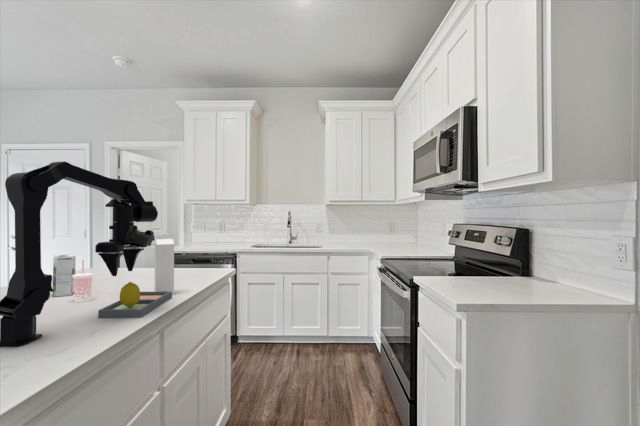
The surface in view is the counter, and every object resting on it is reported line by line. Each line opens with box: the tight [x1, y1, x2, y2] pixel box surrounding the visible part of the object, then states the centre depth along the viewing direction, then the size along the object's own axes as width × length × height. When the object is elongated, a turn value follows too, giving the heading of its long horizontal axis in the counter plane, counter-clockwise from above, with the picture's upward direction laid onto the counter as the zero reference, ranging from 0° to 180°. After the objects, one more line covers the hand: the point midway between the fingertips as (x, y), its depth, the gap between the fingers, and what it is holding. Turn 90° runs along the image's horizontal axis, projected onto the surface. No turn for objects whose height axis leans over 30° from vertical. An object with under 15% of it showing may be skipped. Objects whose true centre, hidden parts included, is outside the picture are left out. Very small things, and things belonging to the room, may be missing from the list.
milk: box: [154, 234, 175, 296], centre depth 130 cm, size 6×6×22 cm
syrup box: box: [52, 254, 77, 298], centre depth 128 cm, size 6×6×14 cm
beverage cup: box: [72, 259, 94, 303], centre depth 120 cm, size 6×6×14 cm
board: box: [97, 291, 173, 319], centre depth 112 cm, size 24×12×2 cm, turn 3°
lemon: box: [119, 281, 141, 308], centre depth 106 cm, size 6×6×8 cm
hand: (122, 273), depth 106 cm, fingers open, 9 cm apart
